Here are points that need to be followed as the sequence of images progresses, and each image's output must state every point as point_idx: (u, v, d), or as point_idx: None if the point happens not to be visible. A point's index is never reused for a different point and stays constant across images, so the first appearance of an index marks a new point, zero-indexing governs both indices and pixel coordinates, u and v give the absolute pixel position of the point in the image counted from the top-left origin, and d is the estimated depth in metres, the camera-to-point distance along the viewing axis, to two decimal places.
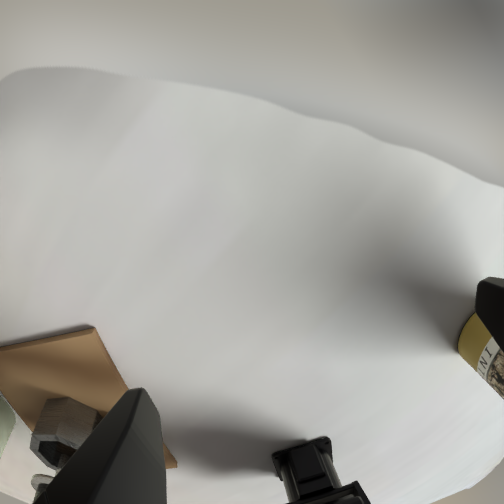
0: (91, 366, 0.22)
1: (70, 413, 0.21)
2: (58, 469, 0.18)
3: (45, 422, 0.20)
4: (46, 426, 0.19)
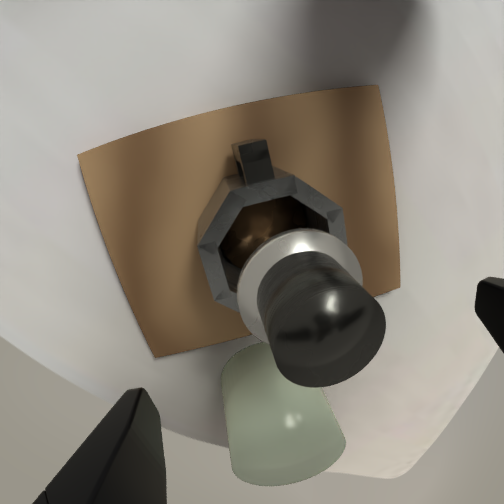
0: (129, 165, 0.16)
1: (203, 218, 0.16)
2: None
3: None
4: None
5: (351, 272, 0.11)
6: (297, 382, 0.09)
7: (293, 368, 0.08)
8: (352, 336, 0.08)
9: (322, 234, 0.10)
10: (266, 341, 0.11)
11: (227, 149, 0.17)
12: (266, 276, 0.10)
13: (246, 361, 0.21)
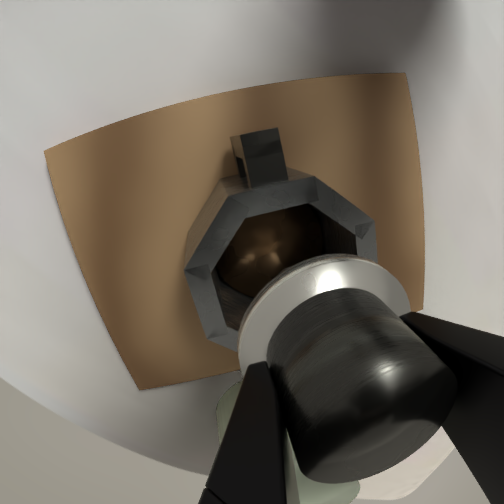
0: (104, 163, 0.13)
1: (193, 230, 0.13)
2: None
3: None
4: None
5: (398, 314, 0.07)
6: (326, 481, 0.05)
7: (324, 469, 0.05)
8: (412, 421, 0.05)
9: (365, 263, 0.07)
10: None
11: (225, 143, 0.13)
12: (282, 325, 0.07)
13: None
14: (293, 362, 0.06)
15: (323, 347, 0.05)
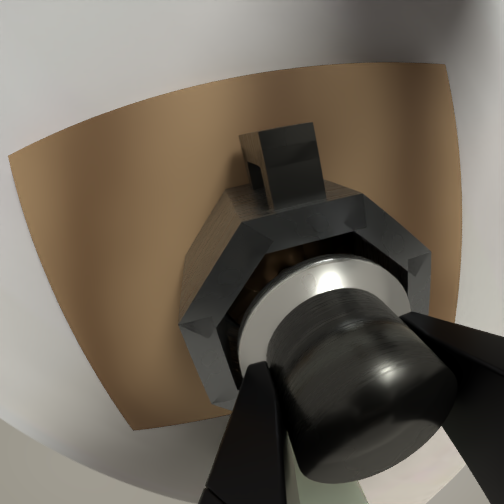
0: (79, 169, 0.10)
1: (192, 259, 0.10)
2: None
3: None
4: None
5: (398, 314, 0.07)
6: (326, 481, 0.05)
7: (324, 469, 0.05)
8: (412, 421, 0.05)
9: (365, 264, 0.07)
10: None
11: (232, 144, 0.10)
12: (282, 326, 0.07)
13: None
14: (293, 362, 0.06)
15: (323, 347, 0.05)
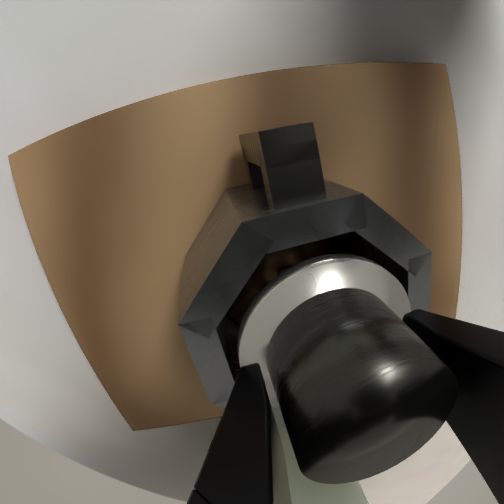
0: (79, 169, 0.10)
1: (192, 260, 0.10)
2: None
3: None
4: None
5: (398, 314, 0.07)
6: (326, 481, 0.05)
7: (324, 469, 0.05)
8: (412, 422, 0.05)
9: (366, 264, 0.07)
10: (277, 406, 0.08)
11: (232, 144, 0.10)
12: (282, 326, 0.07)
13: None
14: (293, 362, 0.06)
15: (323, 347, 0.05)
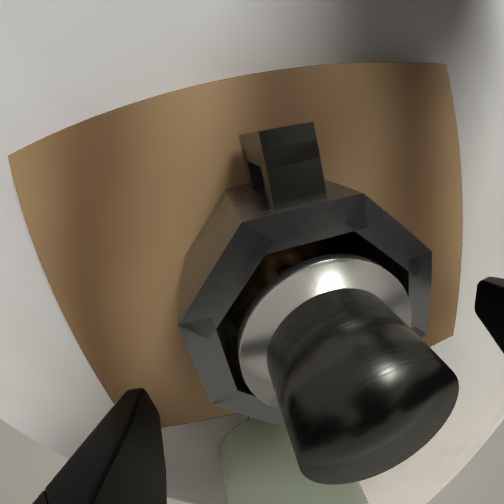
0: (79, 169, 0.10)
1: (192, 260, 0.10)
2: None
3: None
4: None
5: (398, 314, 0.07)
6: (327, 482, 0.05)
7: (325, 469, 0.05)
8: (413, 422, 0.05)
9: (366, 264, 0.07)
10: (278, 407, 0.08)
11: (232, 144, 0.10)
12: (283, 326, 0.07)
13: (254, 438, 0.14)
14: (294, 363, 0.06)
15: (324, 348, 0.05)
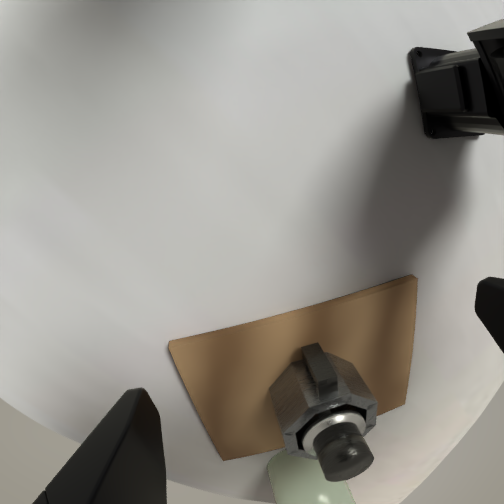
0: (217, 357, 0.21)
1: (278, 399, 0.21)
2: None
3: (281, 432, 0.20)
4: (282, 434, 0.20)
5: (360, 425, 0.18)
6: (332, 481, 0.16)
7: (331, 477, 0.16)
8: (358, 465, 0.16)
9: (349, 415, 0.18)
10: (314, 455, 0.19)
11: (296, 345, 0.21)
12: (319, 434, 0.18)
13: (290, 459, 0.25)
14: (324, 448, 0.17)
15: (333, 446, 0.16)
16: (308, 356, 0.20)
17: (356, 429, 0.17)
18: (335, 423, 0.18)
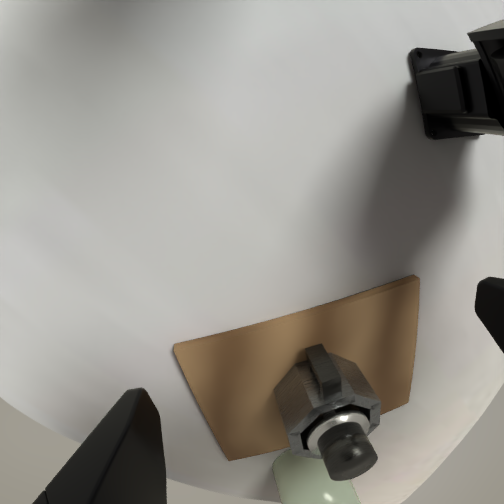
0: (221, 359, 0.21)
1: (283, 400, 0.21)
2: (323, 416, 0.21)
3: (286, 432, 0.20)
4: None
5: (364, 425, 0.18)
6: (337, 480, 0.16)
7: (336, 477, 0.16)
8: (362, 464, 0.16)
9: (353, 415, 0.18)
10: (318, 454, 0.19)
11: (299, 346, 0.22)
12: (324, 434, 0.18)
13: (295, 459, 0.26)
14: (328, 448, 0.17)
15: (337, 445, 0.16)
16: (312, 357, 0.20)
17: (360, 429, 0.18)
18: (339, 423, 0.18)
